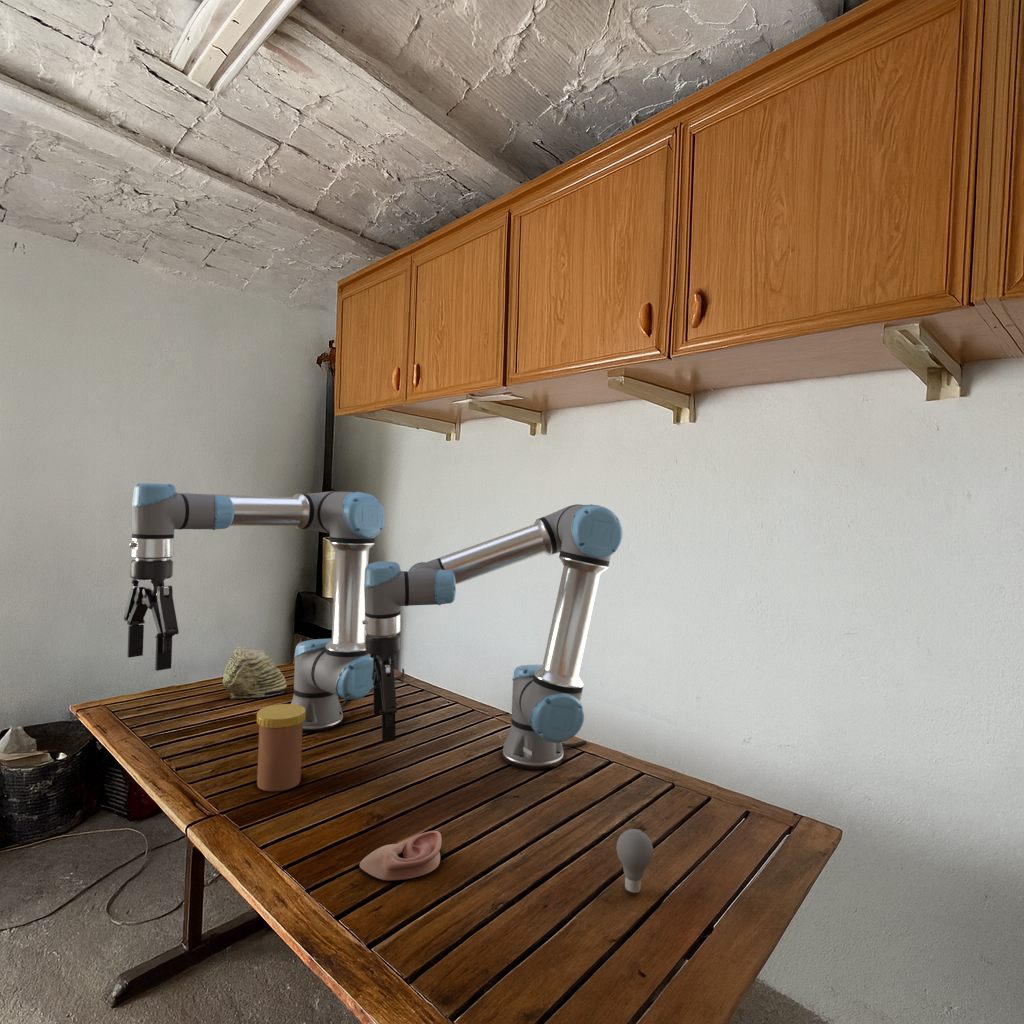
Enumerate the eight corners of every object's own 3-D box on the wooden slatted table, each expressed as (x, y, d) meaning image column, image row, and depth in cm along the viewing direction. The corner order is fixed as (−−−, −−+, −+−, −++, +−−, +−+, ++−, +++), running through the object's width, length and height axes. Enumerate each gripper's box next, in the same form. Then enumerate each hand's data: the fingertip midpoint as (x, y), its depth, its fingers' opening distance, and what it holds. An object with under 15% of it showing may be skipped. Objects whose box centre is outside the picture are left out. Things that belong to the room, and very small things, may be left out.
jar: (263, 772, 144) (266, 706, 144) (304, 772, 145) (307, 706, 144) (251, 791, 135) (253, 720, 134) (295, 791, 136) (297, 720, 135)
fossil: (218, 695, 195) (220, 647, 195) (278, 685, 208) (279, 640, 207) (228, 703, 189) (230, 653, 188) (289, 692, 201) (290, 645, 201)
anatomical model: (352, 851, 106) (379, 818, 118) (351, 875, 106) (379, 839, 118) (427, 864, 104) (448, 829, 115) (426, 888, 104) (447, 850, 115)
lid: (264, 711, 144) (264, 703, 144) (310, 712, 145) (310, 704, 145) (250, 728, 134) (250, 719, 134) (299, 728, 135) (300, 719, 135)
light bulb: (610, 879, 108) (613, 822, 108) (644, 879, 109) (647, 822, 109) (619, 902, 102) (622, 840, 102) (655, 901, 103) (658, 840, 103)
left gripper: (108, 554, 134) (104, 654, 134) (159, 565, 118) (155, 678, 119) (146, 552, 140) (143, 648, 140) (199, 563, 124) (195, 671, 124)
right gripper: (359, 619, 148) (360, 706, 150) (372, 653, 124) (374, 756, 127) (391, 616, 150) (392, 702, 153) (410, 649, 127) (411, 750, 129)
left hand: (148, 662), depth 129 cm, fingers open, 13 cm apart
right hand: (384, 726), depth 140 cm, fingers open, 13 cm apart
